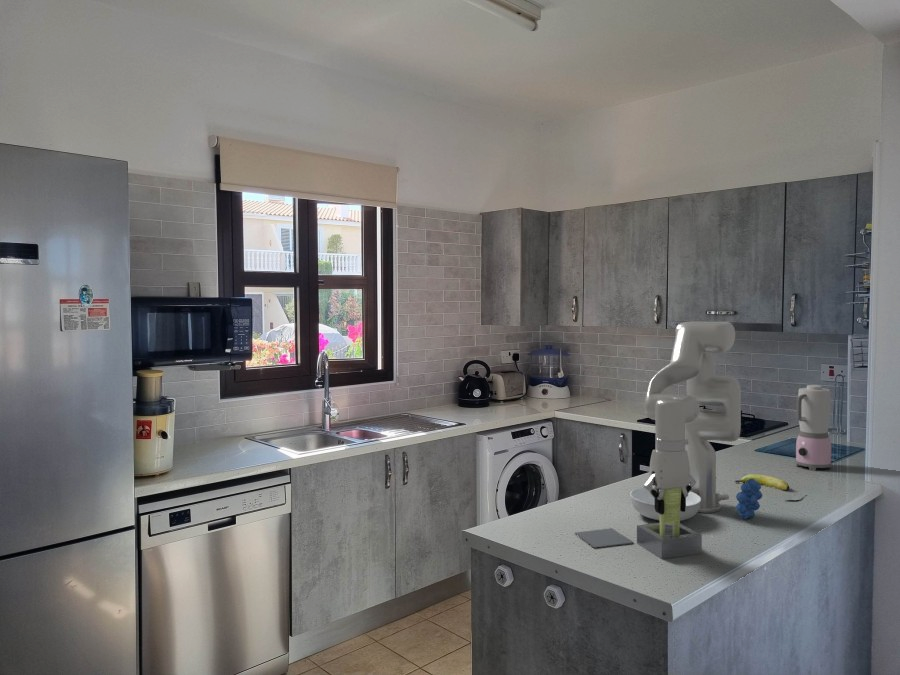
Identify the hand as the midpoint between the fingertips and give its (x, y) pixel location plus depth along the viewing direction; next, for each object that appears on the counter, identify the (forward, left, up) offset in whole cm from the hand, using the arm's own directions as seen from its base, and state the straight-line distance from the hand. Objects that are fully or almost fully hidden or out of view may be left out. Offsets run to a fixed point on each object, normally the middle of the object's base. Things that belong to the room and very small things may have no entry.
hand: (670, 511), depth 181 cm
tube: (0, 0, -8) cm, 8 cm away
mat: (+13, -12, -10) cm, 21 cm away
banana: (-66, -42, -11) cm, 79 cm away
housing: (0, 0, -10) cm, 10 cm away
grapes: (-37, -15, -11) cm, 41 cm away
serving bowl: (-14, -23, -11) cm, 29 cm away
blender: (-101, -57, -11) cm, 117 cm away
